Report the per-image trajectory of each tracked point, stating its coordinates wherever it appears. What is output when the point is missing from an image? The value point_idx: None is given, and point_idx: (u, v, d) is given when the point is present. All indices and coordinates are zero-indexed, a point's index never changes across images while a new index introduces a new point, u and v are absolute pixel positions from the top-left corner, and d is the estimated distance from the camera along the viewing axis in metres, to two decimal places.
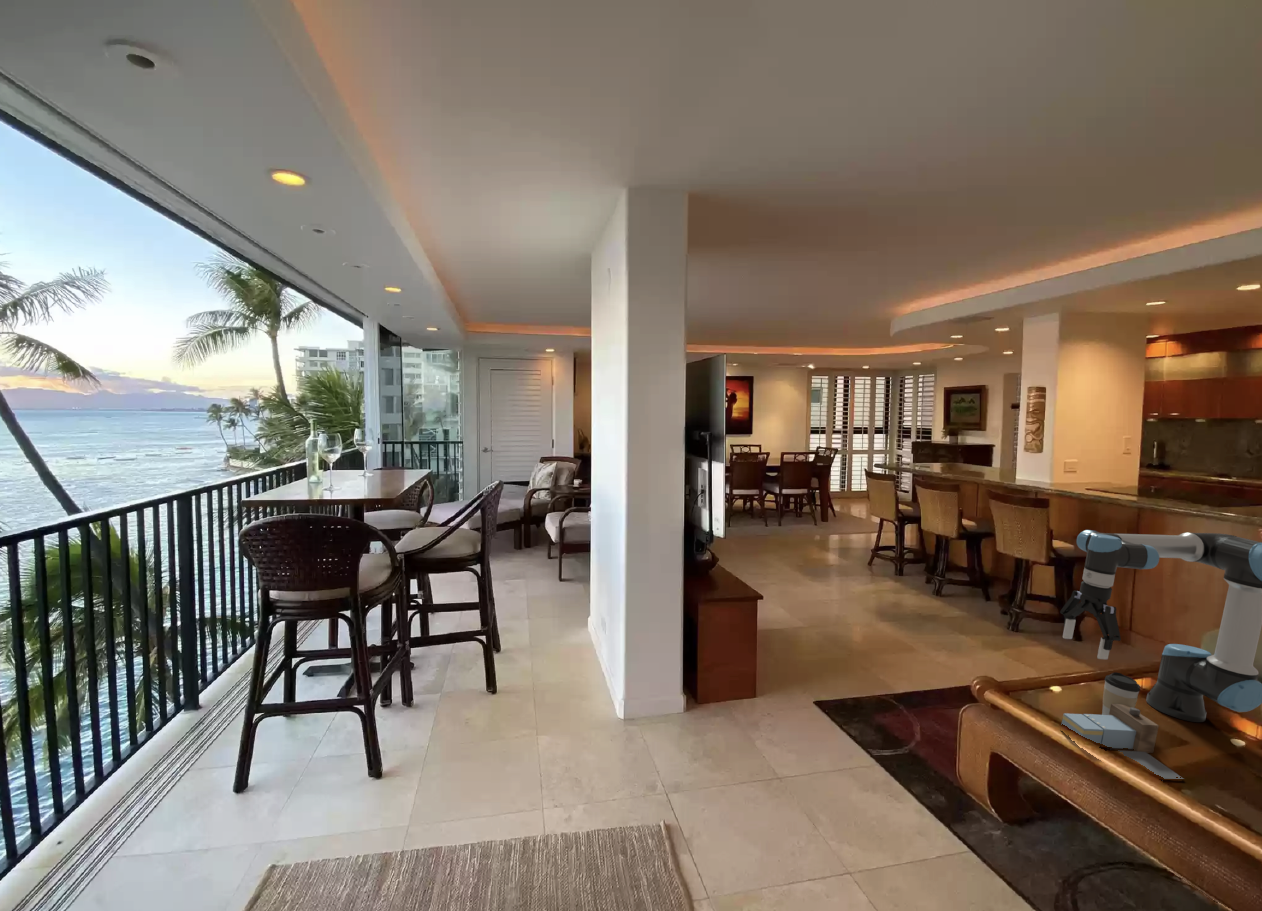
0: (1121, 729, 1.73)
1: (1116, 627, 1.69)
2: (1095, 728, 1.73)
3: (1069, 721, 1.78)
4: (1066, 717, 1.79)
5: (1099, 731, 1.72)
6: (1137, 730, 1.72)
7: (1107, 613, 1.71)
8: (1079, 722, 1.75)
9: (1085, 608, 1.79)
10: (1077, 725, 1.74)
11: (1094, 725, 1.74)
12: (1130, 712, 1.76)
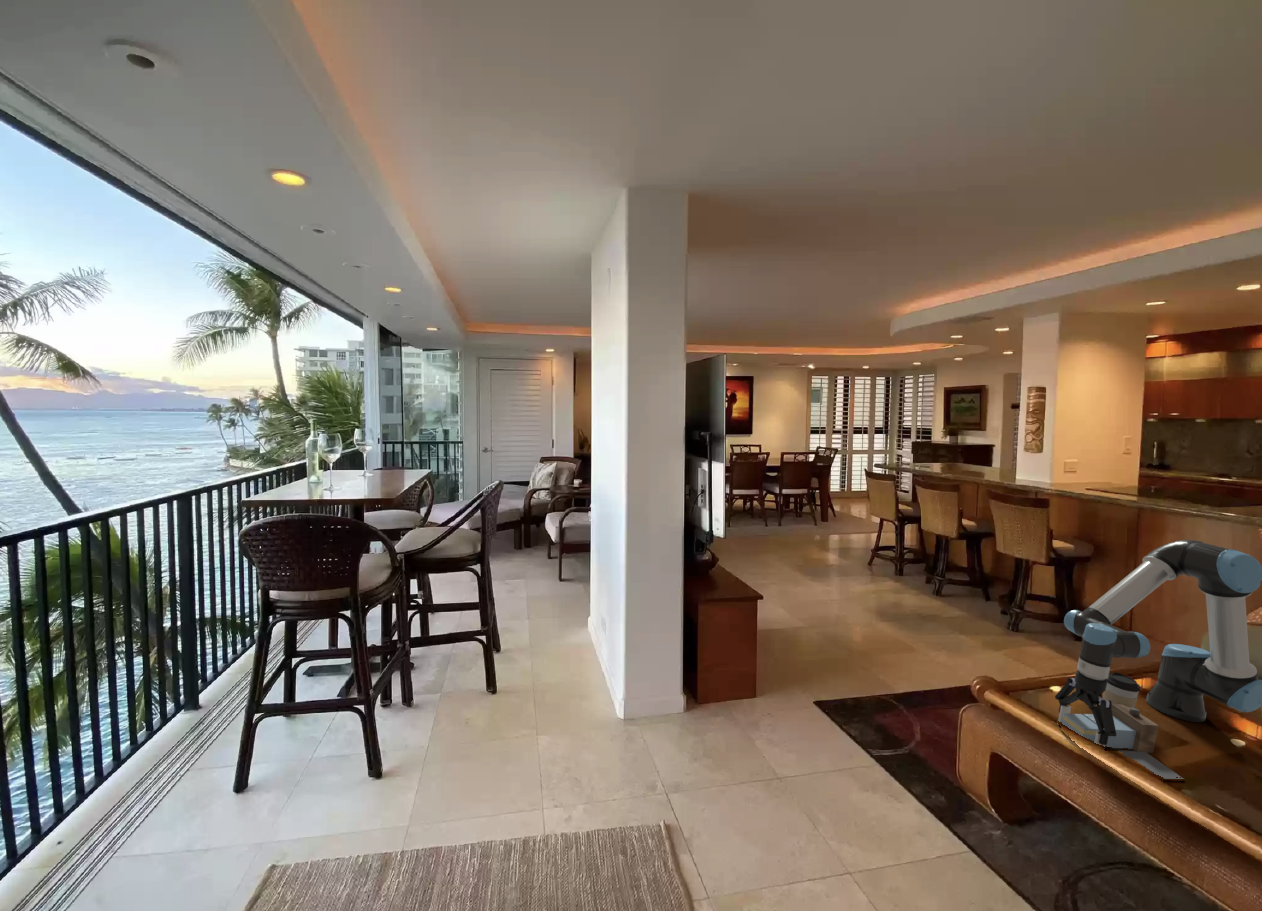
0: (1121, 729, 1.73)
1: (1112, 722, 1.67)
2: (1095, 728, 1.73)
3: (1069, 721, 1.78)
4: (1066, 717, 1.79)
5: None
6: (1137, 730, 1.72)
7: (1102, 707, 1.68)
8: (1079, 722, 1.75)
9: (1080, 698, 1.76)
10: (1077, 725, 1.74)
11: (1094, 725, 1.74)
12: (1130, 712, 1.76)
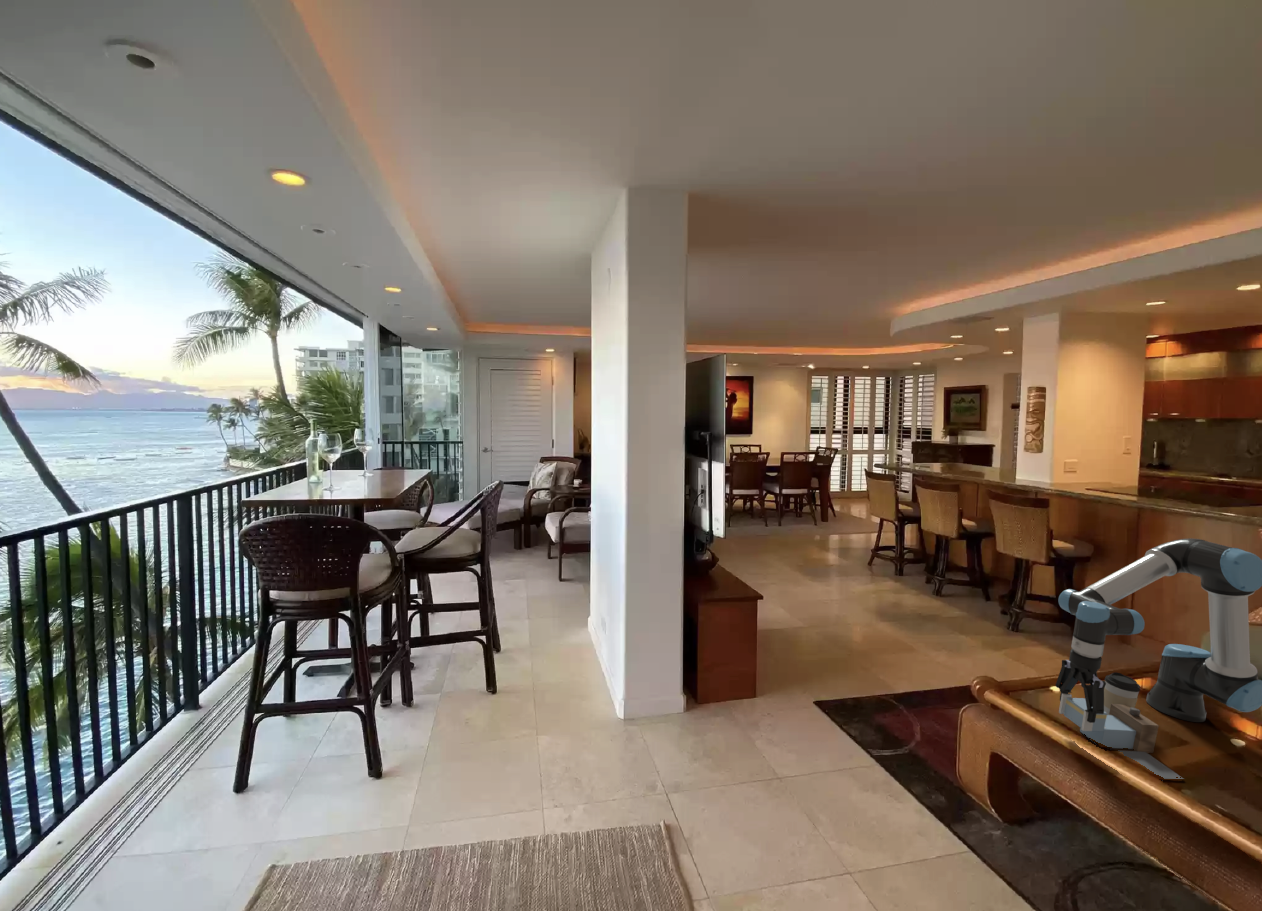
0: (1121, 729, 1.73)
1: (1101, 701, 1.67)
2: None
3: (1072, 706, 1.77)
4: (1069, 701, 1.78)
5: (1103, 715, 1.72)
6: (1137, 730, 1.72)
7: (1095, 687, 1.68)
8: (1083, 706, 1.75)
9: (1075, 677, 1.75)
10: (1081, 709, 1.74)
11: None
12: (1130, 712, 1.76)
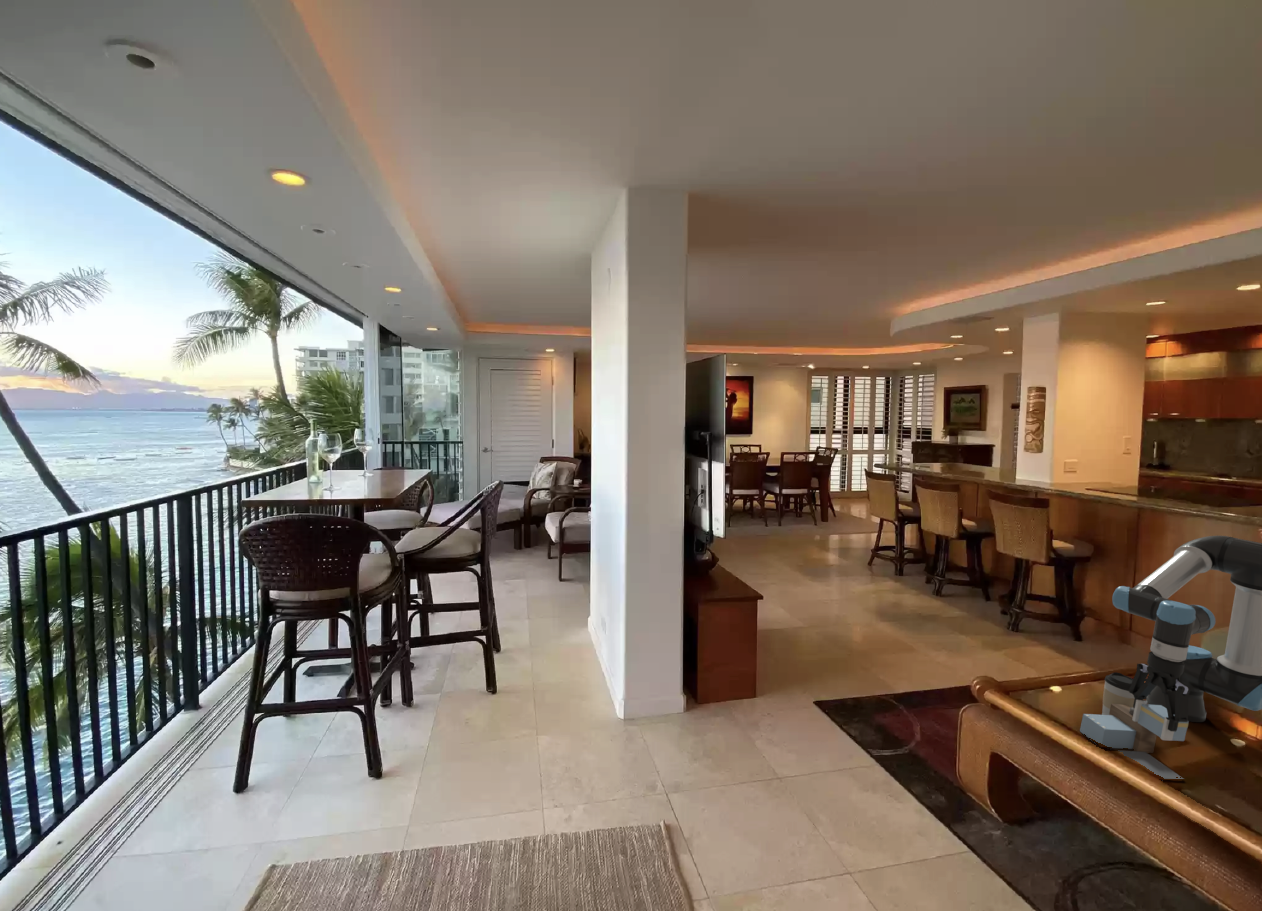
0: (1121, 729, 1.73)
1: (1185, 709, 1.55)
2: None
3: (1149, 713, 1.65)
4: (1145, 708, 1.66)
5: (1184, 723, 1.59)
6: (1137, 730, 1.72)
7: (1179, 693, 1.56)
8: (1161, 713, 1.62)
9: (1153, 682, 1.63)
10: (1159, 716, 1.61)
11: None
12: (1130, 712, 1.76)
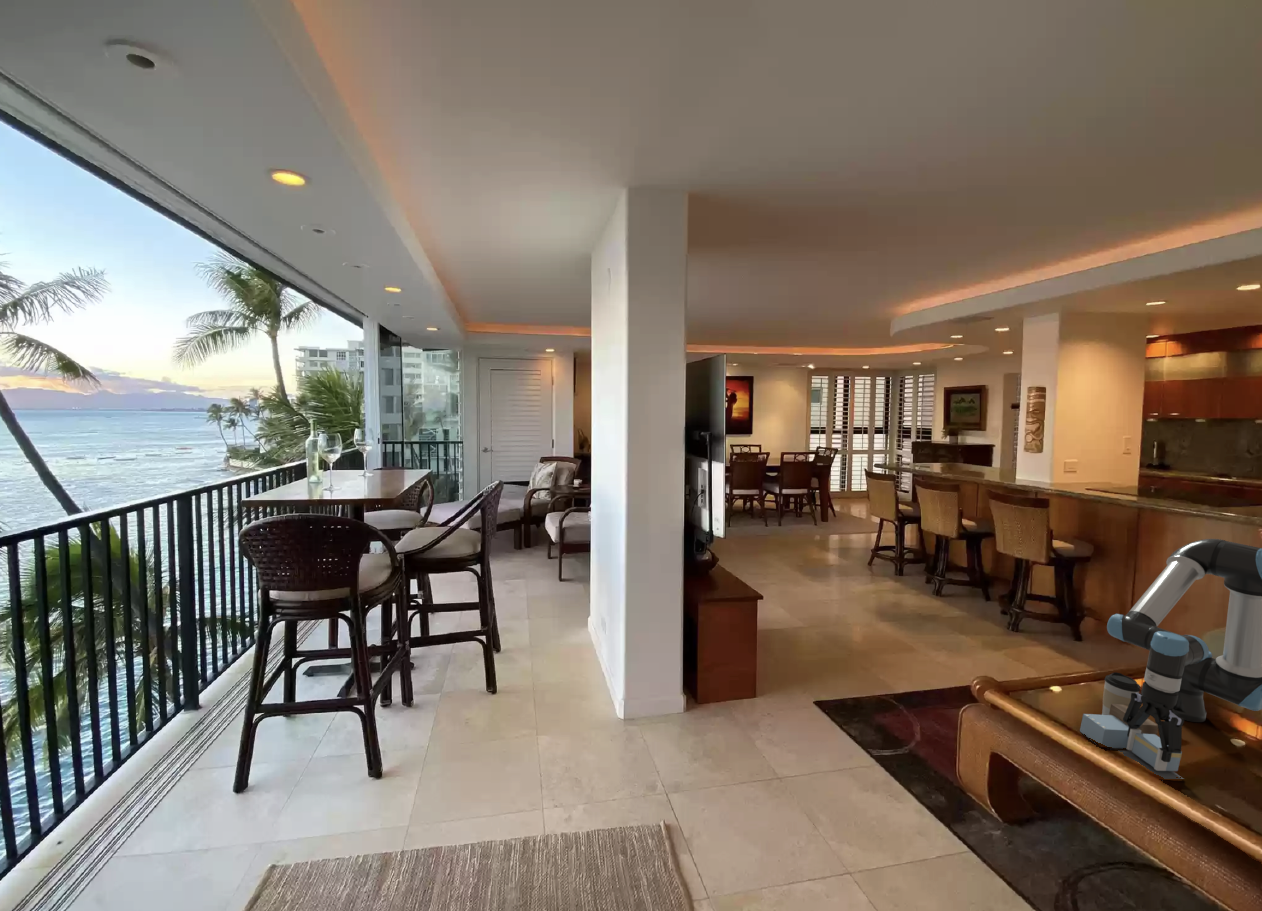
0: (1121, 729, 1.73)
1: (1179, 740, 1.56)
2: None
3: (1142, 742, 1.66)
4: (1139, 737, 1.67)
5: (1177, 754, 1.61)
6: None
7: (1172, 725, 1.57)
8: (1155, 743, 1.63)
9: (1147, 712, 1.64)
10: (1153, 746, 1.63)
11: None
12: None
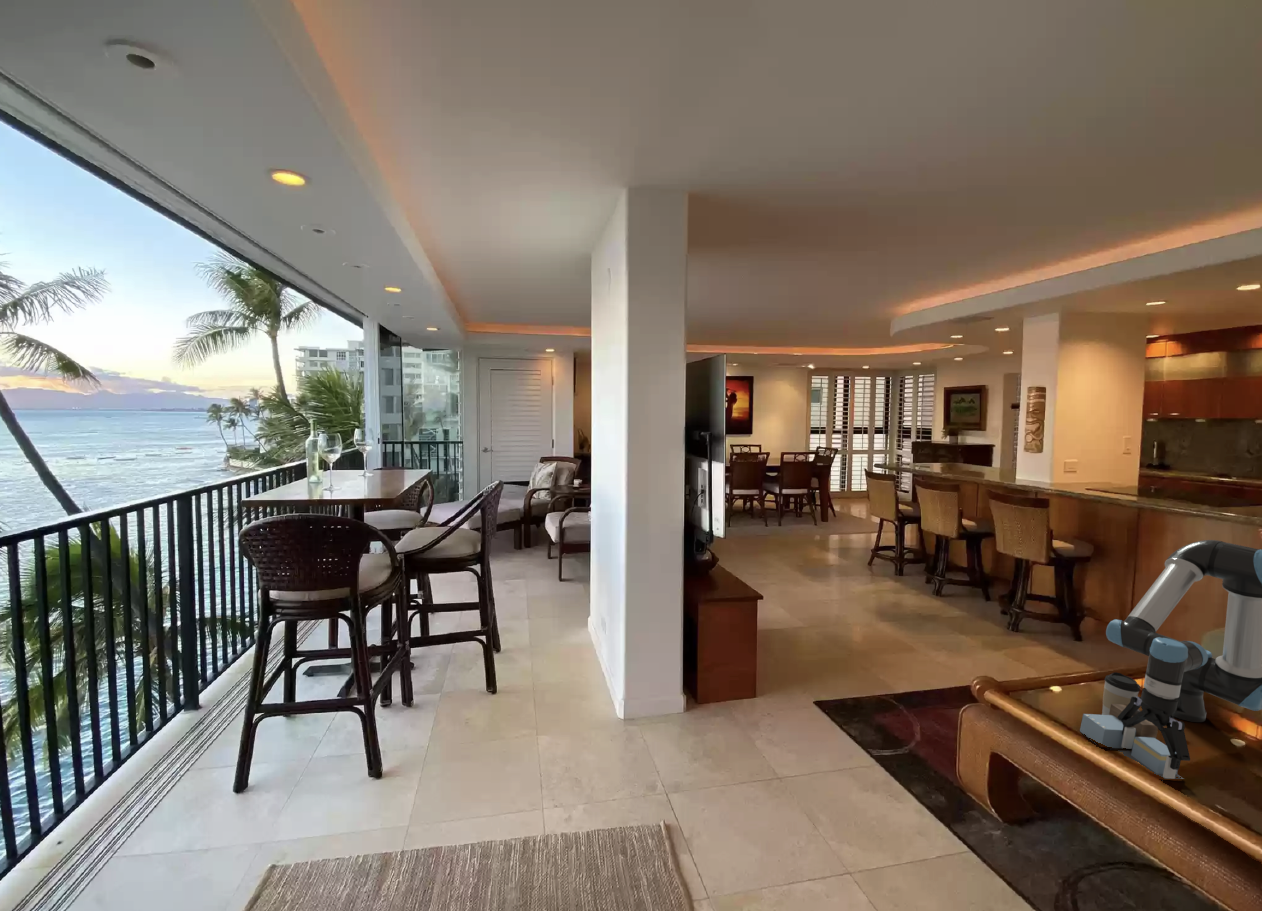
0: (1121, 729, 1.73)
1: (1185, 745, 1.55)
2: None
3: (1141, 746, 1.66)
4: (1138, 741, 1.67)
5: None
6: (1137, 730, 1.72)
7: (1174, 729, 1.56)
8: (1154, 747, 1.64)
9: (1147, 718, 1.64)
10: (1152, 750, 1.63)
11: None
12: None
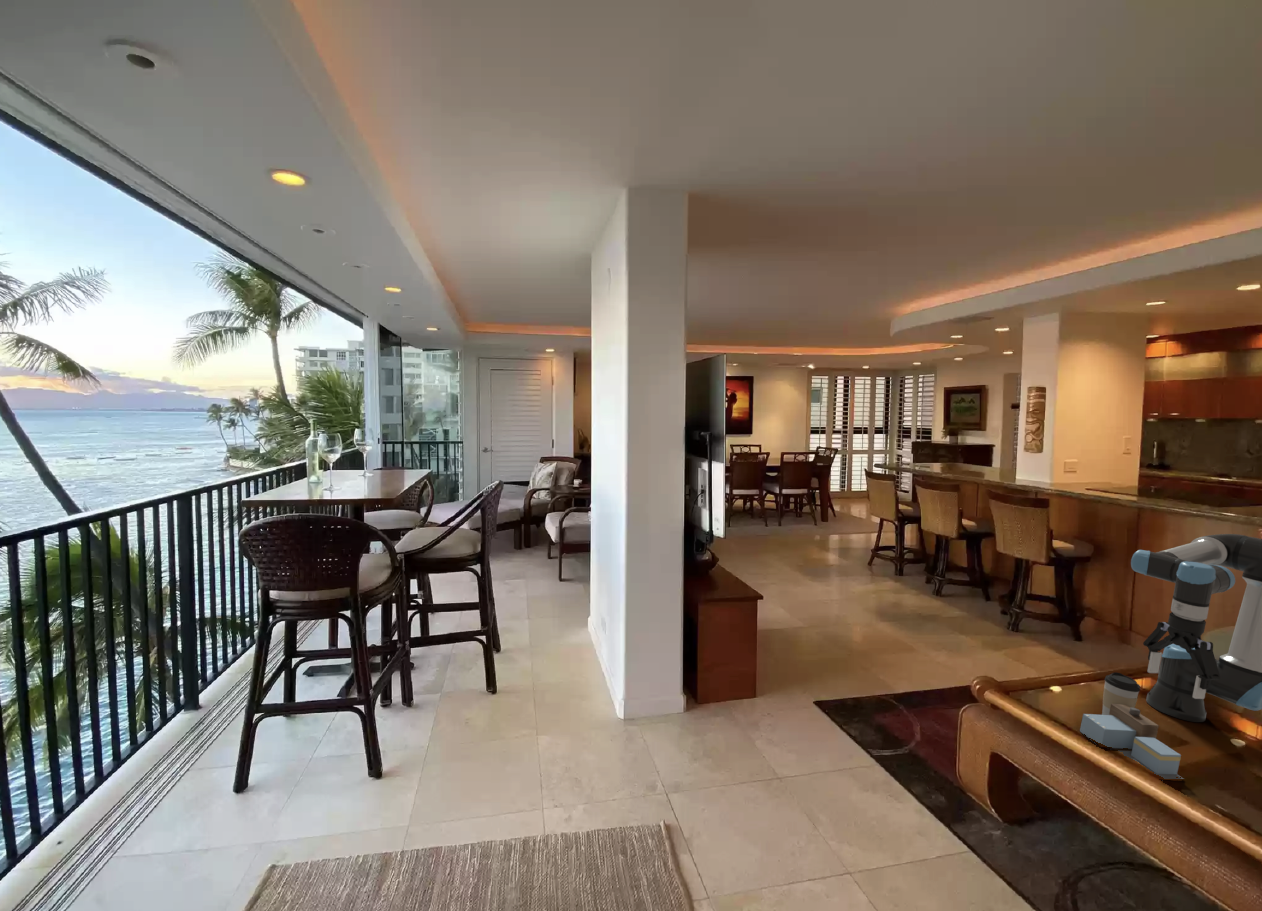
0: (1121, 729, 1.73)
1: (1214, 665, 1.55)
2: (1172, 753, 1.61)
3: (1141, 746, 1.66)
4: (1138, 741, 1.67)
5: (1176, 757, 1.61)
6: (1137, 730, 1.72)
7: (1203, 649, 1.57)
8: (1154, 747, 1.64)
9: (1175, 642, 1.65)
10: (1152, 750, 1.63)
11: (1170, 750, 1.63)
12: (1130, 712, 1.76)
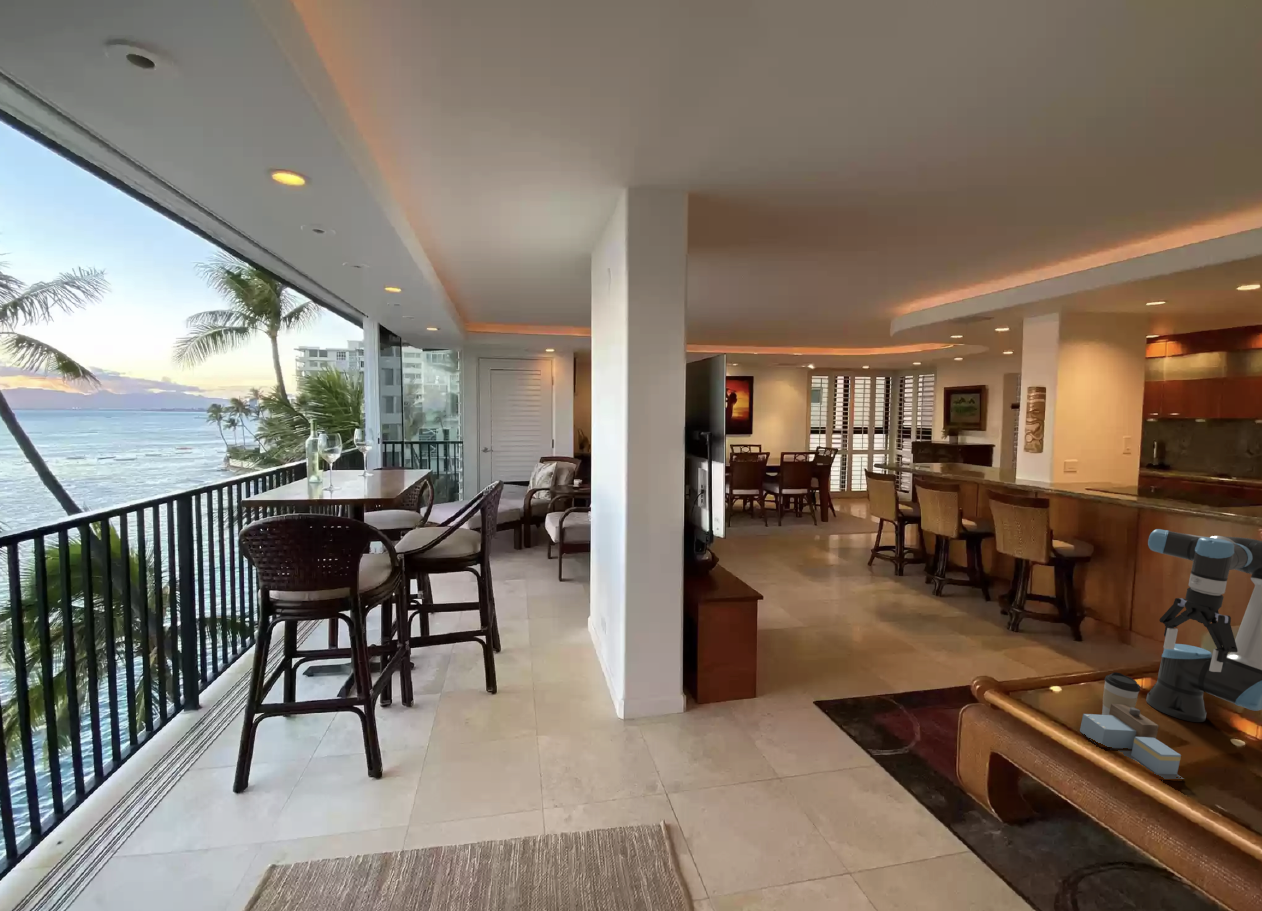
0: (1121, 729, 1.73)
1: (1232, 638, 1.58)
2: (1172, 753, 1.61)
3: (1141, 746, 1.66)
4: (1138, 741, 1.67)
5: (1176, 757, 1.61)
6: (1137, 730, 1.72)
7: (1221, 623, 1.59)
8: (1154, 747, 1.64)
9: (1192, 617, 1.67)
10: (1152, 750, 1.63)
11: (1170, 750, 1.63)
12: (1130, 712, 1.76)
